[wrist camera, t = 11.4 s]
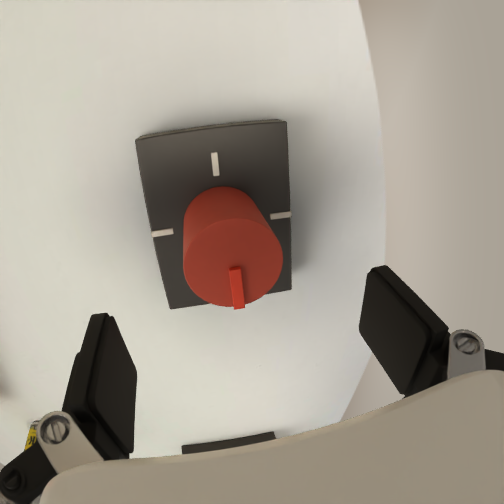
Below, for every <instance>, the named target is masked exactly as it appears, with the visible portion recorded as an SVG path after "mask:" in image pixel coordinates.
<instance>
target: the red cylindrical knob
mask: <svg viewBox="0 0 504 504" xmlns="http://www.w3.org/2000/svg"><path fill="white" fill-rule="evenodd" d="M282 265H283V252H282V248H281V245H280V243H279V241H278V239H277V237H276V236H275V234H274V233H273V231H272V229H271V228H270V226H269V225H268V223H267V222H266V220H265V219H264V217H263V215H262V214H261V212H260V211H259V209H258V208H257V206H256V205H255V203H254V201H253V200H252V199H251V198H250V197H249V196H248V195H247V194H245V193H244V192H243V191H240V190H238V189H236V188H232V187H224V186H222V187H214V188H211V189H208V190H206V191H204V192H202V193H200V194H199V195H198V196H196V197H195V198H194V199H193V200H192V202H191V203H190V204H189V206H188V208H187V210H186V213H185V216H184V227H183V269H184V275H185V279H186V281H187V283H188V285H189V286H190V288H191V289H192V290H193V292H194V293H195V294H196V295H198V296H199V297H200V298H202V299H203V300H205V301H207V302H209V303H212V304H214V305H219V306H226V307H234V309H241V308H245V304H248V303H251V302H253V301H255V300H257V299H259V298H260V297H262V296H263V295H265V294H266V293H267V292H268V291H269V290H270V289H271V288H272V287H273V286H274V284H275V283H276V281H277V280H278V278H279V275H280V273H281V270H282Z"/></svg>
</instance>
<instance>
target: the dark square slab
mask: <svg viewBox="0 0 504 504" xmlns="http://www.w3.org/2000/svg"><path fill="white" fill-rule="evenodd" d="M135 144H136V150H137V157H138V163H139V169H140V175H141V181H142V186H143V192H144V197H145V203H146V208H147V213H148V218H149V223H150V227H151V235H152V237H153V241H154V246H155V250H156V255H157V259H158V263H159V268H160V272H161V276H162V280H163V284H164V288H165V292H166V296H167V299H168V303H169V307H170V309H177V308H184V307H190V306H197V305H204V304H210V303H209V302H207V301H205V300H203V299H202V298H200V297H199V296H198V295H196V294H195V293H194V292H193V290H192V289H191V288H190V286H189V285H188V283H187V281H186V279H185V275H184V269H183V227H184V216H185V213H186V210H187V208H188V206H189V204H190V203H191V202H192V200H193V199H194V198H195V197H196V196H198V195H199V194H200V193H202V192H204V191H206V190H208V189H211V188H214V187H222V186H224V187H232V188H236V189H238V190H240V191H243V192H244V193H245V194H247V195H248V196H249V197H250V198H251V199H252V200H253V201H254V203H255V205H256V206H257V208H258V209H259V211H260V212H261V214H262V215H263V217H264V219H265V220H266V222H267V223H268V225H269V226H270V228H271V229H272V231H273V233H274V234H275V236H276V237H277V239H278V241H279V243H280V245H281V248H282V252H283V265H282V270H281V273H280V275H279V278H278V280H277V281H276V283H275V284H274V286H273V287H272V288H271V289H270V290H269V291H268V292H267V293H266V294H270V293H276V292H281V291H287V290H291V289H292V279H291V218H290V217H292V216H291V211H290V185H289V159H288V137H287V122H286V121H282V120H278V119H275V120H260V121H248V122H237V123H227V124H218V125H209V126H201V127H194V128H187V129H180V130H173V131H167V132H161V133H155V134H150V135H144V136H140V137H139V138H137V139H136V140H135Z"/></svg>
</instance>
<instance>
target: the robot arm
mask: <svg viewBox="0 0 504 504" xmlns="http://www.w3.org/2000/svg"><path fill="white" fill-rule="evenodd" d="M448 329H449V328H448V326H447V325H446V324H445V323H444V322H443V321H442V320H441V319H440V318H439V317H438V316H437V315H436V314H435V313H434V312H433V311H432V310H431V309H430V308H429V307H428V306H427V305H426V304H425V303H424V302H423V300H422V299H420V298H419V297H418V295H417V294H416V293H415V292H414V291H413V290H412V289H411V288H410V287H409V286H407V285H406V284H405V283H404V282H403V281H402V280H401V279H400V278H399V277H398V276H397V275H396V274H395V273H394V272H393V271H392V270H391V269H390V268H389V267H388V266H386V265H384V266H379V267H374V268H372V269H371V271H370V272H369V273H368V274H367V279H366V286H365V292H364V299H363V305H362V311H361V317H360V323H359V331H360V334H361V336H362V337H363V339H364V340H365V342H366V343H367V345H368V346H369V347H370V349H371V350H372V352H373V353H374V355H375V356H376V358H377V359H378V361H379V362H380V364H381V365H382V367H383V368H384V370H385V371H386V373H387V374H388V376H389V377H390V379H391V381H392V382H393V384H394V385H395V387H396V388H397V390H398V391H399V393H400V394H404V395H405V397H406V398H404V399H402V400H399V401H397V402H394V403H392V404H389V405H387V406H384V407H381V408H379V409H376V410H374V411H371V412H368V413H365V414H362V415H359V416H356V417H353V418H350V419H347V420H344V421H341V422H338V423H335V424H331V425H328V426H325V427H321V428H318V429H314V430H311V431H307V432H303V433H299V434H296V435H292V436H287V437H283V438H279V439H275V440H270V441H265V442H261V443H256V444H251V445H245V446H240V447H234V448H228V449H222V450H215V451H208V452H201V453H192V454H183V455H174V456H163V457H150V458H133V459H129V453H133V451H134V421H135V401H136V386H137V371H136V368H135V365H134V363H133V361H132V359H131V356H130V354H129V352H128V350H127V347H126V345H125V343H124V340H123V338H122V336H121V333H120V331H119V328H118V326H117V323H116V321H115V319H114V317H113V316H109V315H108V313H100V314H93V315H91V318H90V321H89V324H88V327H87V330H86V334H85V337H84V340H83V344H82V347H81V351H80V352H79V353H77V355H76V357H75V360H74V364H73V367H72V371H71V375H70V379H69V382H68V386H67V390H66V395H65V399H64V403H63V407H62V411H54V412H50V413H48V414H46V415H45V416H44V417H43V418H42V419H41V420H40V422H39V423H38V425H37V428H36V436H37V439H38V441H36V442H35V443H34V444H33V445H31V446H30V447H29V448H28V449H26V450H25V451H24V452H22V453H21V454H20V455H19V456H17V457H16V458H15V459H13V460H12V461H11V462H10V463H8V464H7V465H6V466H5V467H4V468H3V469H2V470H1V472H0V504H504V354H503V353H499V352H495V351H491V350H487V349H484V344H483V341H482V339H481V338H480V337H479V336H478V335H477V334H475V333H474V332H472V331H469V330H463V329H461V330H456V331H455V332H453V333H452V334H450V333H449V332H448Z"/></svg>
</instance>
